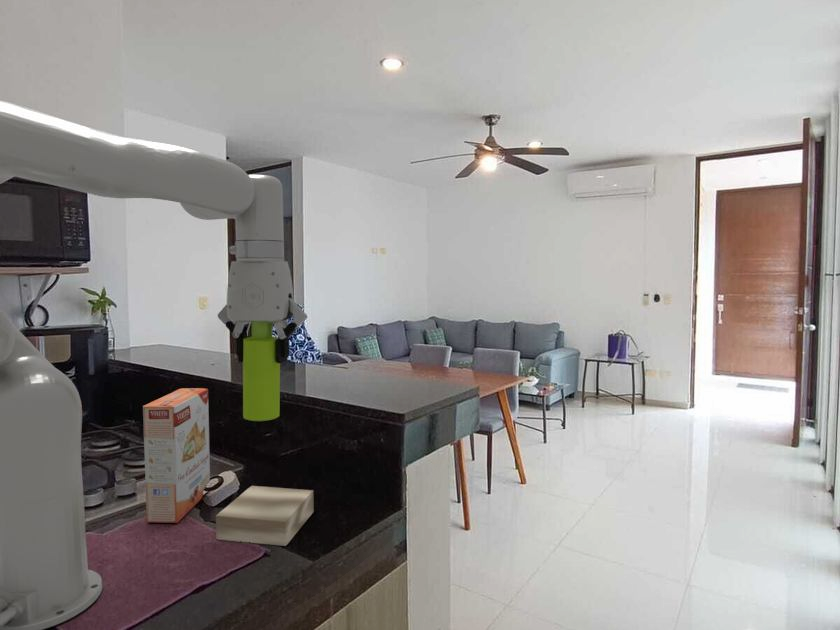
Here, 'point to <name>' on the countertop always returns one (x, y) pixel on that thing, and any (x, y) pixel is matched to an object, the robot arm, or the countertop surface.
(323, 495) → the countertop surface
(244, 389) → the soap dispenser
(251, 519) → the birch stand
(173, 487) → the cracker box
